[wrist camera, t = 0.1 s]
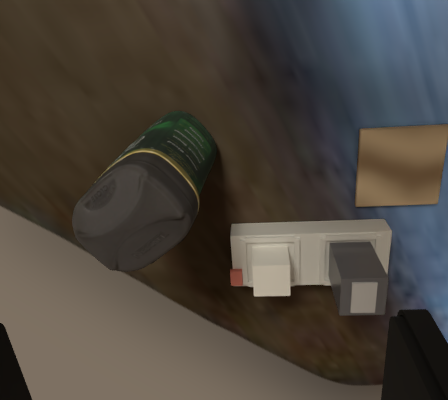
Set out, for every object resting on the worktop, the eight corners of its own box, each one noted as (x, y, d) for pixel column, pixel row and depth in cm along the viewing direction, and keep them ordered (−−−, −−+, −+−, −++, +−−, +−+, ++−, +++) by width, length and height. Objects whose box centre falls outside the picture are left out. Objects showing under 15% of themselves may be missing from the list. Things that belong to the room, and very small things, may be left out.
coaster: (359, 128, 44) (360, 130, 43) (447, 124, 43) (449, 125, 43) (354, 204, 48) (355, 206, 47) (435, 201, 47) (437, 203, 46)
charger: (328, 275, 48) (339, 316, 42) (329, 242, 46) (341, 280, 40) (367, 274, 48) (385, 316, 41) (370, 241, 46) (389, 279, 40)
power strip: (232, 272, 53) (229, 307, 46) (229, 223, 50) (225, 254, 43) (379, 269, 51) (397, 305, 45) (384, 218, 48) (403, 250, 42)
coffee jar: (180, 96, 44) (132, 147, 27) (228, 150, 46) (212, 229, 29) (119, 152, 47) (43, 229, 30) (167, 200, 49) (121, 297, 32)
